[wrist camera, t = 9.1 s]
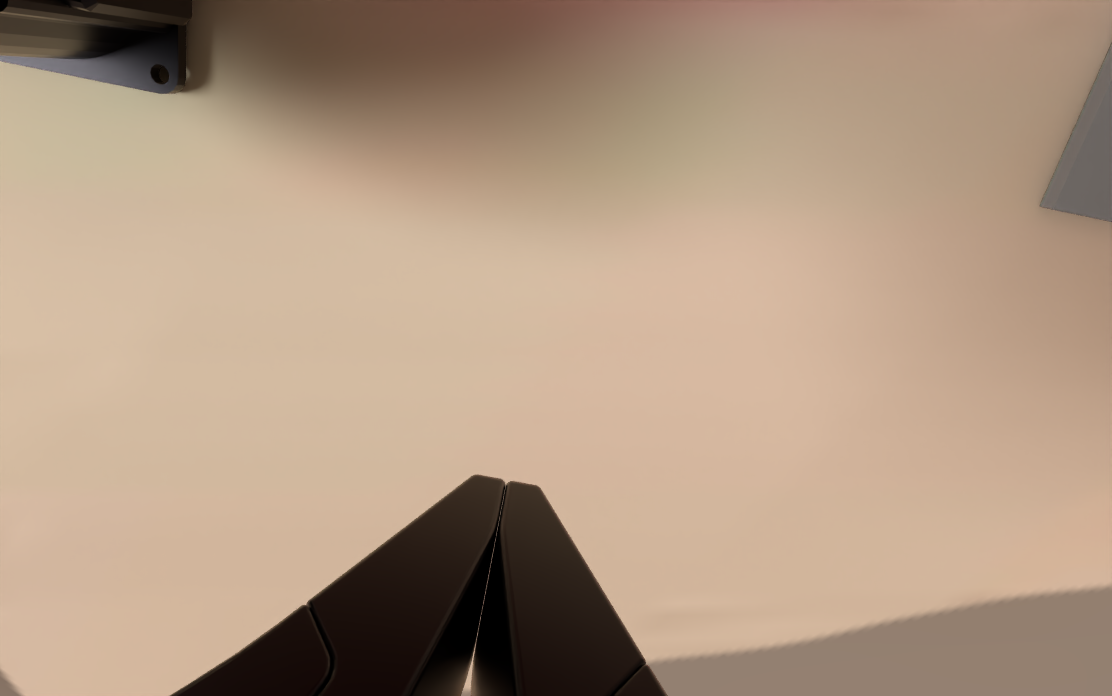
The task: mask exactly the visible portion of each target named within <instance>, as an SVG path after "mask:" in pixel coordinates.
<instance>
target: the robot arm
mask: <svg viewBox="0 0 1112 696" xmlns="http://www.w3.org/2000/svg"><path fill="white" fill-rule="evenodd" d="M191 17H192V0H0V61H2V62H7V63H12V64H17V65H22V66H27V67H32V68H36V69H41V70H46V71H51V72H56V73H61V74H66V75H71V76H76V77H81V78H86V79H90V80H95V81H100V82H105V83H110V84H115V85H120V86H125V87H130V88H135V89H140V90H144V91H149V92H154V93H159V94H173V93H177V92H179V91H181V90H182V88H183V87H184V86H185V81H186V23H187V22H188V21H189V20H190V19H191ZM161 66H164V67H165V68H166V69H167V70H168V73H169V80H168V82H166V83H164V82H163V81H162V80H161V79H160V76H159V69H160V67H161ZM504 491H505V493H504ZM503 496H504V499H503ZM502 502H503V504H502ZM501 507H502V509H501ZM500 512H501V515H500ZM499 518H500V520H499ZM498 523H499V525H498ZM497 528H498V530H497ZM496 533H497V536H496ZM495 539H496V541H495ZM494 544H495V546H494ZM493 549H494V551H493ZM492 554H493V557H492ZM491 560H492V562H491ZM490 565H491V567H490ZM489 570H490V572H489ZM488 575H489V578H488ZM487 581H488V583H487ZM486 586H487V588H486ZM485 591H486V593H485ZM484 596H485V599H484ZM483 602H484V604H483ZM482 607H483V609H482ZM481 612H482V614H481ZM480 617H481V620H480ZM479 623H480V625H479ZM478 628H479V630H478ZM477 633H478V636H477ZM476 638H477V641H476ZM475 643H476V647H475ZM474 648H475V653H474V660H473V670H472V681H471V696H667V694H666V692H665V691H664V689H663V688H662V686H661V685H660V683H659V681H658V680H657V678H656V676H655V675H654V673H653V671H652V670H651V669H650V667H649V666H648V665H646V661H645V659H644V657H643V655H642V654H641V652H640V651H639V649H638V647H637V646H636V644H635V642H634V641H633V639H632V637H631V636H630V634H629V633H628V631H627V629H626V628H625V626H624V624H623V623H622V621H621V619H620V618H619V616H618V614H617V613H616V611H615V610H614V608H613V606H612V605H611V603H610V601H609V600H608V598H607V596H606V595H605V593H604V592H603V590H602V588H601V587H600V585H599V583H598V582H597V580H596V578H595V577H594V575H593V573H592V572H591V570H590V569H589V567H588V565H587V564H586V562H585V560H584V559H583V557H582V555H581V554H580V552H579V551H578V549H577V547H576V546H575V544H574V542H573V541H572V539H571V537H570V536H569V534H568V532H567V531H566V529H565V528H564V526H563V524H562V523H561V521H560V519H559V518H558V516H557V514H556V513H555V511H554V510H553V508H552V506H551V505H550V503H549V501H548V500H547V498H546V496H545V495H544V493H543V491H542V490H541V488H540V487H538V486H536V485H532V484H526V483H521V482H515V481H510V482H508V483H507V485H506V488H505V482H504V481H503V480H502V479H499V478H493V477H488V476H483V475H473V476H471V477H470V478H469V479H467V480H466V481H465V482H463V483H462V484H461V485H460V486H458V487H457V488H456V489H454V490H453V491H452V492H450V493H449V494H448V495H446V496H445V497H444V498H442V499H441V500H440V501H439V502H437V503H436V504H435V505H433V506H432V507H431V508H429V509H428V510H427V511H425V512H424V513H423V514H422V515H420V516H419V517H418V518H416V519H415V520H414V521H412V522H411V523H410V524H408V525H407V526H406V527H404V528H403V529H402V530H401V531H399V532H398V533H397V534H395V535H394V536H393V537H391V538H390V539H389V540H387V541H386V542H385V543H384V544H382V545H381V546H380V547H378V548H377V549H376V550H374V551H373V552H372V553H370V554H369V555H368V556H366V557H365V558H364V559H363V560H361V561H360V562H359V563H357V564H356V565H355V566H353V567H352V568H351V569H349V570H348V571H347V572H345V573H344V574H343V575H342V576H340V577H339V578H338V579H336V580H335V581H334V582H332V583H331V584H330V585H328V586H327V587H326V588H325V589H323V590H322V591H321V592H319V593H318V594H317V595H315V596H314V597H313V598H311V599H310V600H309V601H308V602H307V604H306V605H302V606H300V607H299V608H298V609H297V610H295V611H294V612H293V613H291V614H290V615H289V616H287V617H286V618H285V619H283V620H282V621H281V622H279V623H278V624H277V625H275V626H274V627H273V628H271V629H270V630H268V631H267V632H266V633H264V634H263V635H261V636H260V637H259V638H257V639H256V640H254V641H253V642H252V643H250V644H249V645H247V646H246V647H245V648H243V649H242V650H240V651H239V652H238V653H236V654H235V655H233V656H232V657H230V658H228V659H227V660H225V661H224V662H222V663H221V664H219V665H218V666H216V667H214V668H213V669H211V670H210V671H208V672H207V673H205V674H203V675H202V676H200V677H199V678H197V679H196V680H194V681H193V682H191V683H189V684H188V685H186V686H185V687H183V688H181V689H180V690H178V691H177V692H175V693H173V694H172V695H170V696H461V694H462V691H463V688H464V685H465V681H466V678H467V675H468V671H469V668H470V665H471V661H472V657H473V652H474Z"/></svg>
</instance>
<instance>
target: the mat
mask: <svg viewBox="0 0 1112 696" xmlns="http://www.w3.org/2000/svg"><path fill="white" fill-rule="evenodd" d="M1040 206H1041V207H1045V208H1049V209H1052V210H1057V211H1062V212H1067V213H1071V214H1076V215H1081V216H1086V217H1091V218H1096V219H1100V220H1105V221H1110V222H1112V44H1111V46H1110V48H1109V51H1108V53H1107V55H1106V57H1105V60H1104V62H1103V64H1102V66H1101V69H1100V71H1099V73H1098V76H1097V78H1096V80H1095V82H1094V85H1093V87H1092V89H1091V91H1090V94H1089V96H1088V98H1087V100H1086V103H1085V105H1084V107H1083V109H1082V112H1081V114H1080V116H1079V118H1078V121H1077V123H1076V125H1075V127H1074V130H1073V132H1072V134H1071V136H1070V139H1069V141H1068V143H1067V145H1066V148H1065V150H1064V152H1063V154H1062V157H1061V159H1060V161H1059V163H1058V166H1057V168H1056V170H1055V173H1054V175H1053V177H1052V179H1051V182H1050V184H1049V186H1048V188H1047V191H1046V193H1045V195H1044V197H1043V200H1042V202H1041V204H1040Z"/></svg>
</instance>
